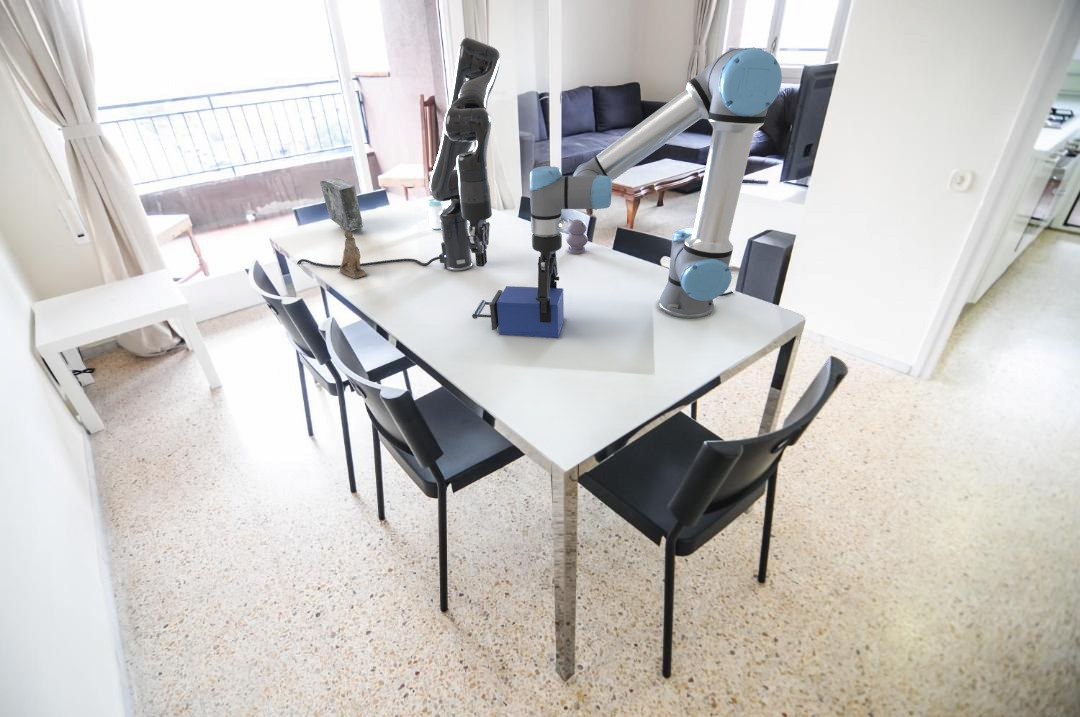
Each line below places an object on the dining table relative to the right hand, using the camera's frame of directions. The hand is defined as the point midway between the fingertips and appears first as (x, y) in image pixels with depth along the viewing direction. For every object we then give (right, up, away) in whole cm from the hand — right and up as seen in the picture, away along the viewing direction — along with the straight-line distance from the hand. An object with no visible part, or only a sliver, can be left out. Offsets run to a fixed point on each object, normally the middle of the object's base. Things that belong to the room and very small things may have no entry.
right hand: (548, 312), depth 136 cm
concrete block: (-90, +47, +92) cm, 137 cm away
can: (-48, +46, +88) cm, 110 cm away
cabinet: (-5, -4, +3) cm, 7 cm away
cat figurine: (+12, +28, +55) cm, 63 cm away
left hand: (-18, +12, -4) cm, 22 cm away
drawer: (-10, -3, +4) cm, 11 cm away
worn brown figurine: (-70, +18, +43) cm, 84 cm away
